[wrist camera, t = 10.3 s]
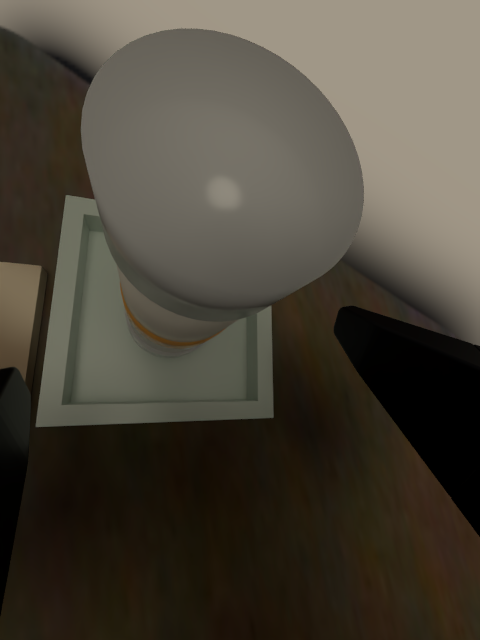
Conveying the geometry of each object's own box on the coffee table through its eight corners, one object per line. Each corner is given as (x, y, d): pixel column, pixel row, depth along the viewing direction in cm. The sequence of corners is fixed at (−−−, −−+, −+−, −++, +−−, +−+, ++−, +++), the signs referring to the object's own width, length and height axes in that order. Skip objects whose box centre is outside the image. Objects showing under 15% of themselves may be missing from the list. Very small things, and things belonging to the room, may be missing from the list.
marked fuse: (216, 349, 16) (392, 276, 5) (134, 365, 15) (109, 317, 3) (201, 274, 16) (327, 50, 5) (120, 283, 15) (58, 4, 4)
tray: (256, 412, 17) (273, 417, 15) (52, 419, 14) (35, 427, 12) (254, 247, 19) (269, 228, 17) (76, 221, 16) (66, 195, 14)
